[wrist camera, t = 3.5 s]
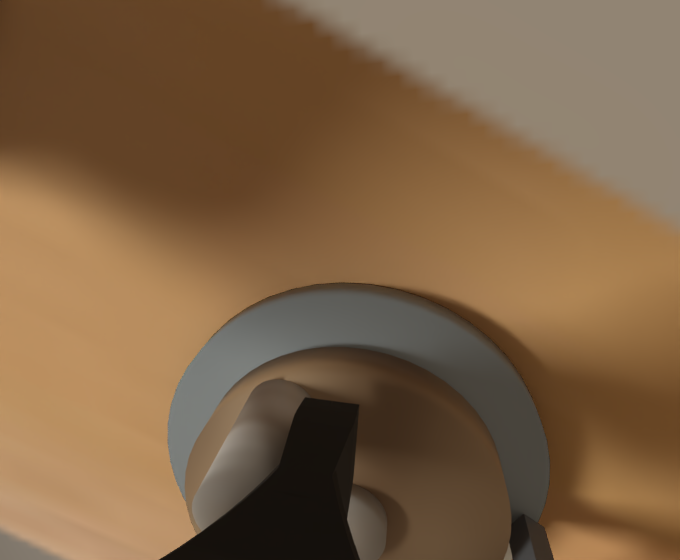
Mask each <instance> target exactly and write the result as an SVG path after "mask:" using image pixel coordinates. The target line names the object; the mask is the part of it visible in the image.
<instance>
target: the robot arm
mask: <svg viewBox="0 0 680 560" xmlns="http://www.w3.org/2000/svg"><path fill="white" fill-rule="evenodd" d="M358 416H359V404H352V403H344V402H337V401H330V400H322V399H315V398H308V397H305V398H304V399H303V401H302V402H301V404H300V405H299V407H298V409H297V411H296V413H295V415H294V418H293V421H292V424H291V427H290V431H289V434H288V437H287V441H286V444H285V447H284V451H283V454H282V457H281V461H280V464H279V465H278V466H277V467H276V468H275V469H274V470H273V471H272V472H271V473H270V474H269V475H268V476H267V477H266V478H265V479H264V480H263V481H262V482H261V483H260V484H259V485H258V486H257V487H256V488H254V489H253V490H252V491H251V492H250V493H249V494H248V495H247V496H246V497H244V498H243V499H242V500H241V501H240V502H239V503H237V504H236V505H235V506H234V507H233V508H231V509H230V510H229V511H228V512H226V513H225V514H224V515H223V516H221V517H220V518H219V519H217V520H216V521H215V522H213V523H212V524H211V525H209V526H208V527H207V528H205V529H204V530H203V531H201V532H200V533H199V534H197V535H196V536H195V537H193V538H192V539H190V540H189V541H187V542H186V543H184V544H183V545H182V546H180V547H179V548H177V549H175V550H174V551H172V552H171V553H169V554H167V555H166V556H164V557H163V558H161V559H159V560H360V558H359V555H358V552H357V549H356V546H355V543H354V540H353V537H352V534H351V531H350V527H349V524H348V521H347V517H348V510H349V504H350V497H351V491H352V484H353V477H354V466H355V453H356V441H357V429H358Z"/></svg>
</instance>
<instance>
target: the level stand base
mask: <svg viewBox="0 0 680 560" xmlns="http://www.w3.org/2000/svg"><path fill="white" fill-rule="evenodd" d="M320 347H350V348H360V349H367V350H372V351H376V352H381V353H386V354H389V355H392V356H395V357H398V358H401V359H404V360H406V361H409V362H411V363H413V364H415V365H417V366H419V367H421V368H423V369H426V370H428V371H429V372H431V373H432V374H434V375H435V376H437V377H439V378H440V379H442V380H443V381H445V382H446V383H447V384H449V385H450V386H451V387H452V388H453V389H455V390H456V391H457V392H458V393H460V394H461V395H462V396H463V397H464V398H465V399H466V401H467V402H468V403H469V404H470V405H471V406H472V407H473V408H474V409H475V410H476V412H477V413H478V415H479V416H480V417H481V419H482V420H483V422H484V423H485V425H486V426H487V428H488V430H489V432H490V434H491V436H492V438H493V440H494V442H495V446H496V449H497V452H498V455H499V458H500V462H501V466H502V471H503V475H504V479H505V484H506V488H507V492H508V496H509V502H510V509H511V535H510V540H509V545H508V549H507V552H506V554H505V557H504V559H503V560H512V559H513V560H554V558H553V555H552V551H551V548H550V545H549V541H548V538H547V535H546V531H545V528H544V527H543V526H542V525H540V524H539V523H538V521H539V519H540V516H541V513H542V511H543V508H544V506H545V502H546V498H547V493H548V488H549V479H550V459H549V452H548V445H547V439H546V436H545V433H544V429H543V426H542V423H541V420H540V417H539V414H538V412H537V409H536V407H535V404H534V402H533V399H532V397H531V395H530V393H529V391H528V389H527V387H526V385H525V383H524V381H523V379H522V377H521V375H520V374H519V373H518V371H517V370H516V368H515V367H514V365H513V364H512V363H511V361H510V360H509V358H508V357H507V356H506V355H505V354H504V353H503V352H502V351H501V350H500V349H499V347H498V346H497V345H496V344H495V343H494V342H493V341H492V340H491V339H490V338H489V337H487V336H486V335H485V334H484V333H482V332H481V331H480V330H479V329H478V328H476V327H475V326H474V325H473V324H471V323H470V322H468V321H467V320H465V319H464V318H462V317H460V316H459V315H457V314H455V313H454V312H452V311H450V310H449V309H447V308H445V307H443V306H440V305H438V304H436V303H434V302H432V301H429V300H427V299H425V298H423V297H420V296H416V295H413V294H410V293H407V292H404V291H400V290H397V289H392V288H387V287H381V286H376V285H370V284H355V283H331V284H316V285H311V286H306V287H301V288H296V289H291V290H288V291H285V292H282V293H279V294H276V295H273V296H270V297H268V298H265V299H263V300H261V301H259V302H257V303H255V304H253V305H251V306H249V307H247V308H246V309H244V310H243V311H242V312H240V313H239V314H237V315H236V316H234V317H233V318H231V319H230V320H229V321H228V322H227V323H225V324H224V325H223V326H222V327H221V328H220V329H219V330H218V331H217V332H216V333H215V334H214V335H213V336H212V337H211V338H210V340H209V341H208V342H207V343H206V344H205V346H204V347H203V348H202V349H201V350H200V352H199V353H198V354H197V355H196V357H195V358H194V359H193V361H192V362H191V363H190V365H189V366H188V367H187V369H186V371H185V373H184V375H183V376H182V378H181V380H180V382H179V384H178V386H177V389H176V392H175V395H174V398H173V400H172V403H171V409H170V414H169V420H168V448H169V455H170V462H171V465H172V469H173V472H174V475H175V479H176V482H177V484H178V486H179V488H180V491H181V493H182V495H183V497H184V499H185V501H186V497H185V472H186V468H187V463H188V459H189V455H190V453H191V451H192V448H193V446H194V443H195V441H196V439H197V438H198V436H199V435H200V433H201V432H202V430H203V428H204V427H205V425H206V424H207V422H208V420H209V419H210V417H211V416H212V414H213V413H214V411H215V409H216V408H217V406H218V405H219V403H220V402H221V400H222V398H223V397H224V395H225V394H226V393H227V392H228V391H229V390H230V389H231V388H232V386H233V385H234V384H235V383H236V382H237V381H239V380H240V379H241V378H242V377H244V376H245V375H246V374H247V373H248V372H250V371H252V370H253V369H255V368H257V367H258V366H260V365H262V364H263V363H265V362H268V361H270V360H272V359H275V358H277V357H280V356H282V355H285V354H289V353H293V352H296V351H300V350H306V349H313V348H320Z"/></svg>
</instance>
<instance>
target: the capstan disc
mask: <svg viewBox="0 0 680 560" xmlns="http://www.w3.org/2000/svg"><path fill="white" fill-rule="evenodd" d="M305 397H308V398H315V399H322V400H330V401H337V402H344V403H352V404H359V416H358V429H357V441H356V453H355V466H354V477H353V484H352V491H351V497H350V504H349V510H348V517H347V521H348V524H349V527H350V531H351V534H352V537H353V540H354V543H355V546H356V549H357V552H358V555H359V558H360V560H503V559H504V557H505V554H506V552H507V549H508V545H509V540H510V535H511V509H510V502H509V496H508V492H507V488H506V484H505V479H504V475H503V471H502V466H501V462H500V458H499V455H498V452H497V449H496V446H495V442H494V440H493V438H492V436H491V434H490V432H489V430H488V428H487V426H486V425H485V423H484V422H483V420H482V419H481V417H480V416H479V415H478V413H477V412H476V410H475V409H474V408H473V407H472V406H471V405H470V404H469V403H468V402H467V401H466V399H465V398H464V397H463V396H462V395H461V394H460V393H458V392H457V391H456V390H455V389H453V388H452V387H451V386H450V385H449V384H447V383H446V382H445V381H443V380H442V379H440V378H439V377H437V376H435V375H434V374H432V373H431V372H429V371H428V370H426V369H423V368H421V367H419V366H417V365H415V364H413V363H411V362H409V361H406V360H404V359H401V358H398V357H395V356H392V355H389V354H386V353H381V352H376V351H372V350H367V349H360V348H350V347H320V348H313V349H306V350H300V351H296V352H293V353H289V354H285V355H282V356H280V357H277V358H275V359H272V360H270V361H268V362H265V363H263V364H262V365H260V366H258V367H257V368H255V369H253V370H252V371H250V372H248V373H247V374H246V375H245V376H244V377H242V378H241V379H240V380H239V381H237V382H236V383H235V384H234V385H233V386H232V388H231V389H230V390H229V391H228V392H227V393H226V394H225V395H224V397H223V398H222V400H221V402H220V403H219V405H218V406H217V408H216V409H215V411H214V413H213V414H212V416H211V417H210V419H209V420H208V422H207V424H206V425H205V427H204V428H203V430H202V432H201V433H200V435H199V436H198V438H197V439H196V441H195V443H194V446H193V448H192V451H191V453H190V455H189V459H188V463H187V468H186V472H185V497H186V505H187V509H188V513H189V516H190V520H191V522H192V525H193V527H194V530H195V532H196V534H199V533H200V532H201V531H203V530H204V529H205V528H207V527H208V526H209V525H211V524H212V523H213V522H215V521H216V520H217V519H219V518H220V517H221V516H223V515H224V514H225V513H226V512H228V511H229V510H230V509H231V508H233V507H234V506H235V505H236V504H237V503H239V502H240V501H241V500H242V499H243V498H244V497H246V496H247V495H248V494H249V493H250V492H251V491H252V490H253V489H254V488H256V487H257V486H258V485H259V484H260V483H261V482H262V481H263V480H264V479H265V478H266V477H267V476H268V475H269V474H270V473H271V472H272V471H273V470H274V469H275V468H276V467H277V466H278V465H279V464H280V461H281V457H282V454H283V451H284V447H285V444H286V441H287V437H288V434H289V431H290V427H291V424H292V421H293V418H294V415H295V413H296V411H297V409H298V407H299V405H300V404H301V402H302V401H303V399H304V398H305Z"/></svg>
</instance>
